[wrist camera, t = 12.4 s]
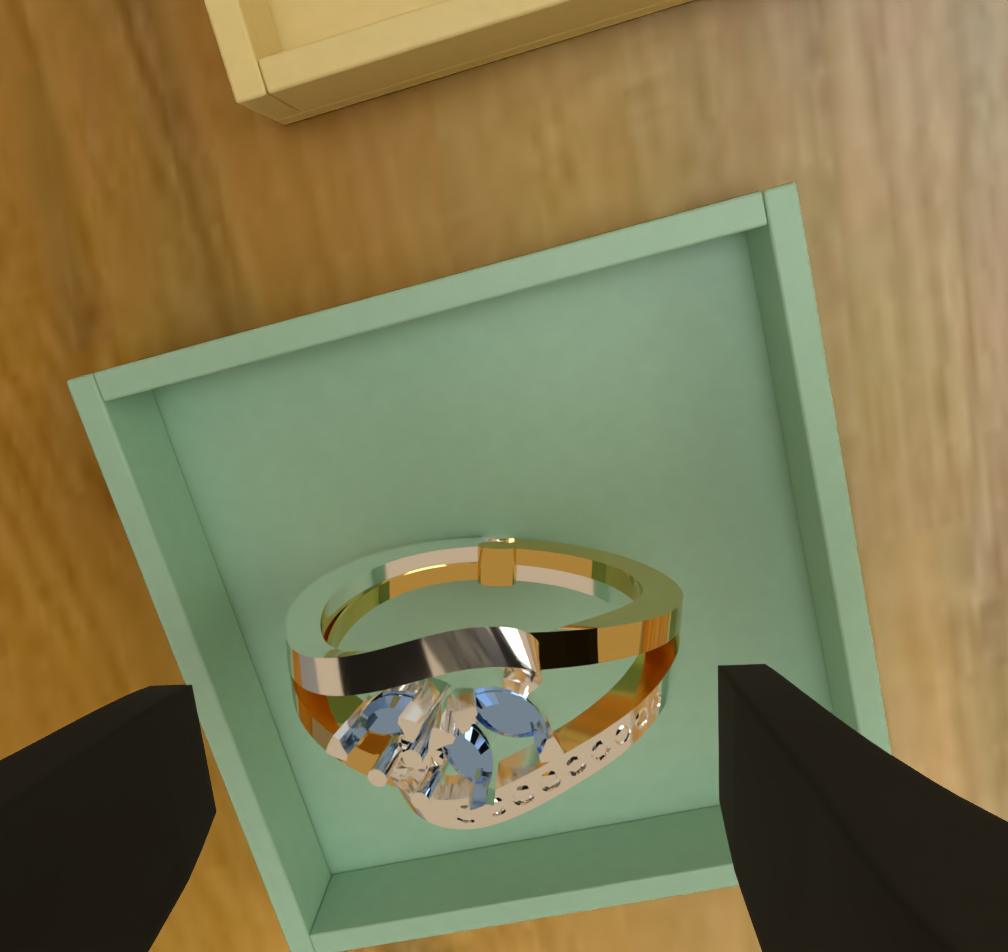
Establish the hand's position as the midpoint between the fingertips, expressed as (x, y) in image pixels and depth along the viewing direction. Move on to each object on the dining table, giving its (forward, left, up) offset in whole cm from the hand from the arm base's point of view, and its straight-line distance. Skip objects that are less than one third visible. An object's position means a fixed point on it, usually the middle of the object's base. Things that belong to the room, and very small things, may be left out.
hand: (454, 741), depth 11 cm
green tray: (0, -1, -8) cm, 8 cm away
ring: (0, 0, -8) cm, 8 cm away
